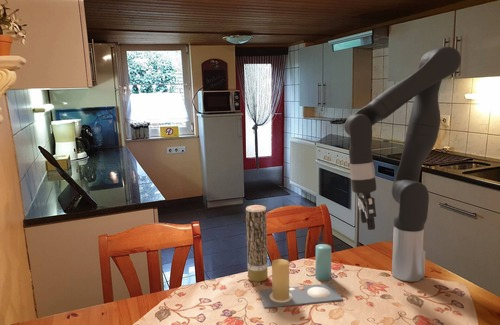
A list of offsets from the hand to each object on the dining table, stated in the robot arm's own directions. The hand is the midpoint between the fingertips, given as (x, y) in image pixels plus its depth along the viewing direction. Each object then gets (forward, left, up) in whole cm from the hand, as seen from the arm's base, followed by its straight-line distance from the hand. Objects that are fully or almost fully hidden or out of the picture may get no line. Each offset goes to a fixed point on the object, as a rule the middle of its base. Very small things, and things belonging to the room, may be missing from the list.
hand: (367, 225), depth 117 cm
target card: (+24, +5, -19) cm, 31 cm away
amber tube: (+30, +5, -19) cm, 36 cm away
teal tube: (+13, -5, -19) cm, 24 cm away
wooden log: (+35, -9, -19) cm, 41 cm away
